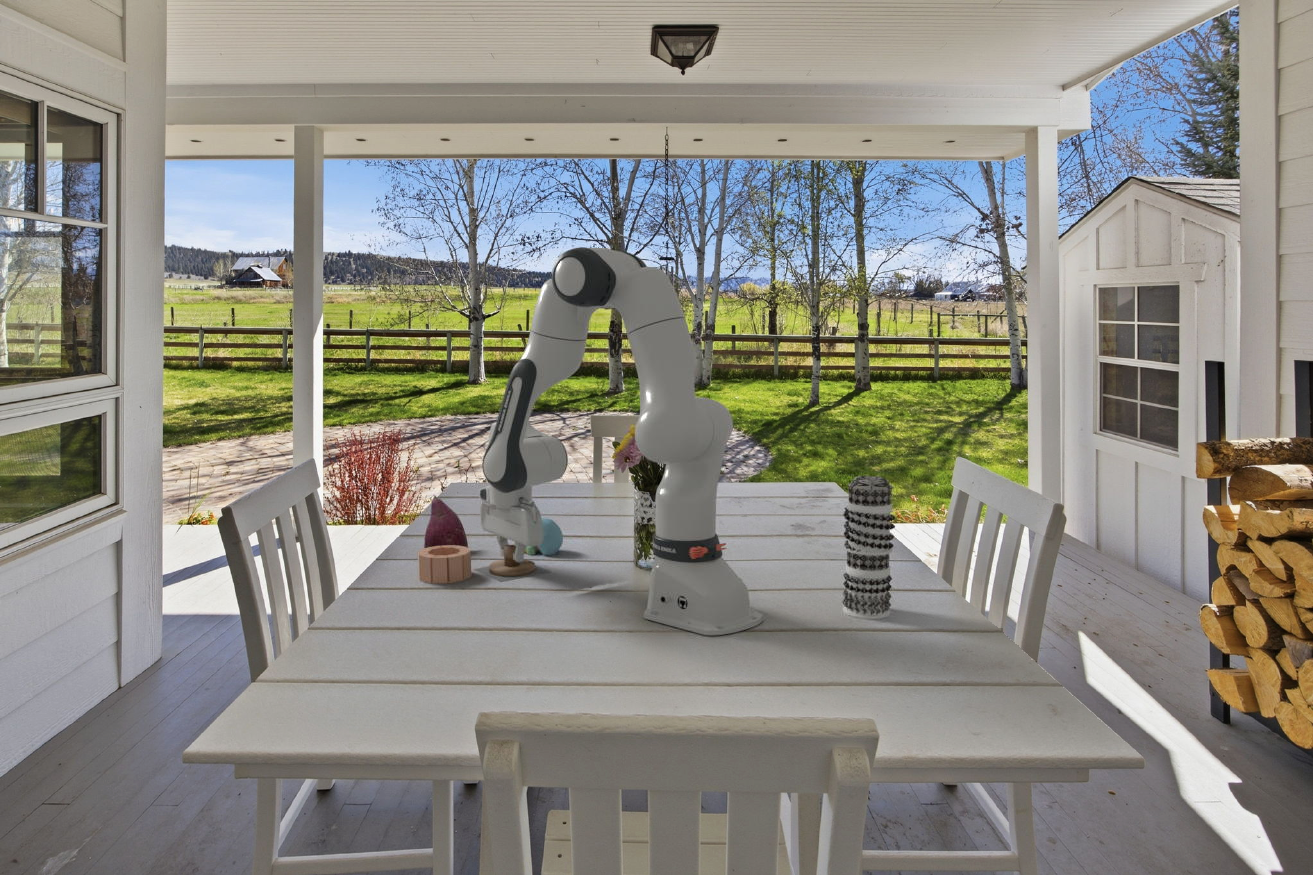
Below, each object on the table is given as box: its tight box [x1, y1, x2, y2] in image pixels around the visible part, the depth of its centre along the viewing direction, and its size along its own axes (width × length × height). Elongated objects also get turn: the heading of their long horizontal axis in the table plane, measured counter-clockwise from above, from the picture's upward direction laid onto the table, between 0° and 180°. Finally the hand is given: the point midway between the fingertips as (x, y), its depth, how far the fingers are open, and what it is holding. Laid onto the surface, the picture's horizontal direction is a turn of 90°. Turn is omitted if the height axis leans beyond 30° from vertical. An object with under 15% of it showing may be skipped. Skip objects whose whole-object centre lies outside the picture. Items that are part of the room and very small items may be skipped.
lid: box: [488, 544, 536, 577], centre depth 188 cm, size 10×10×5 cm
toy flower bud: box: [524, 517, 564, 556], centre depth 204 cm, size 7×9×12 cm
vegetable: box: [423, 495, 469, 549], centre depth 206 cm, size 10×10×15 cm
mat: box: [473, 564, 552, 583], centre depth 189 cm, size 12×12×1 cm
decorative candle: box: [842, 475, 896, 620], centre depth 162 cm, size 9×9×25 cm
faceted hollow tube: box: [417, 545, 472, 584], centre depth 184 cm, size 10×11×6 cm
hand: (512, 558), depth 188 cm, fingers open, 4 cm apart
